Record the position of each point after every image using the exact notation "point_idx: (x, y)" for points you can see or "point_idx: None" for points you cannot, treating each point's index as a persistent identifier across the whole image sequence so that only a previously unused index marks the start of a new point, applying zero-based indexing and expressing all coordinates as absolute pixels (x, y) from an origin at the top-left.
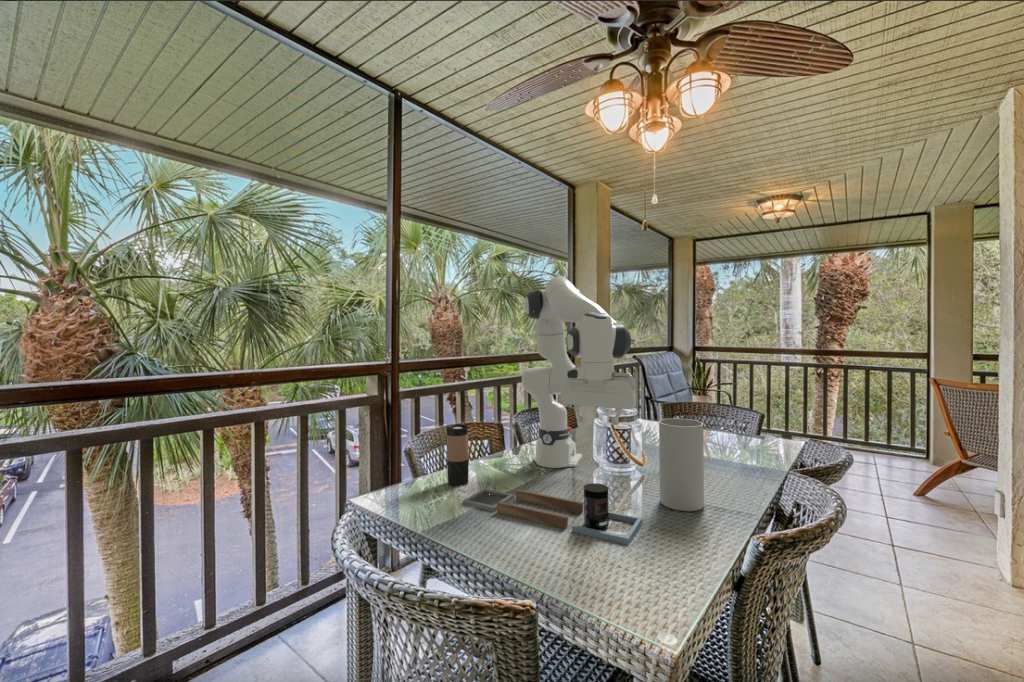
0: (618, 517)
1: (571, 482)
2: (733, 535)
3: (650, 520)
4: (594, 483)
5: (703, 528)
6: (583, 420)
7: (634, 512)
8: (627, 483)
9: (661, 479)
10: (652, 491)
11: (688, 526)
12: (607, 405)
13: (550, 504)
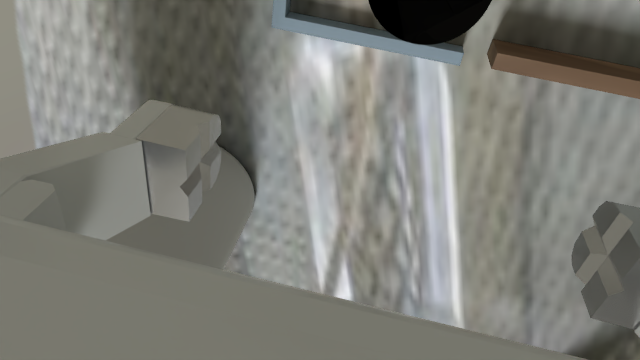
0: (354, 27)
1: (534, 277)
2: (39, 17)
3: (258, 52)
4: (441, 41)
5: (114, 40)
6: (603, 219)
7: (313, 99)
8: (358, 287)
9: (219, 215)
10: (286, 247)
11: (152, 41)
12: (96, 265)
13: (629, 69)
